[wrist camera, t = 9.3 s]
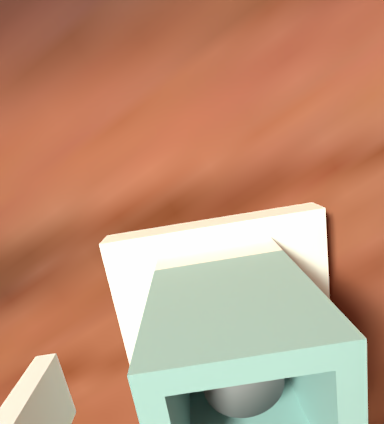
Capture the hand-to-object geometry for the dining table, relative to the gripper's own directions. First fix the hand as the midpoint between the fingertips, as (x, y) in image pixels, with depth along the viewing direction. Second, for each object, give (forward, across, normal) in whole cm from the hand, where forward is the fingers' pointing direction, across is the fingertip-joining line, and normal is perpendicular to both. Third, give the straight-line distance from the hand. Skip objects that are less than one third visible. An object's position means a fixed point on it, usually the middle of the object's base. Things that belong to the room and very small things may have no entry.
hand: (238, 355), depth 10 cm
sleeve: (+5, 0, -1) cm, 5 cm away
